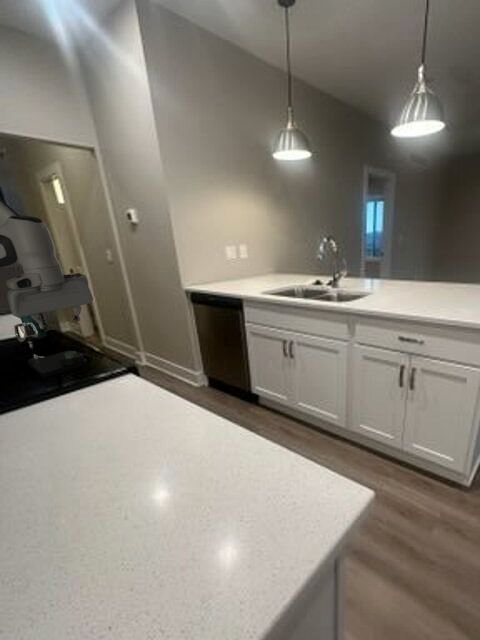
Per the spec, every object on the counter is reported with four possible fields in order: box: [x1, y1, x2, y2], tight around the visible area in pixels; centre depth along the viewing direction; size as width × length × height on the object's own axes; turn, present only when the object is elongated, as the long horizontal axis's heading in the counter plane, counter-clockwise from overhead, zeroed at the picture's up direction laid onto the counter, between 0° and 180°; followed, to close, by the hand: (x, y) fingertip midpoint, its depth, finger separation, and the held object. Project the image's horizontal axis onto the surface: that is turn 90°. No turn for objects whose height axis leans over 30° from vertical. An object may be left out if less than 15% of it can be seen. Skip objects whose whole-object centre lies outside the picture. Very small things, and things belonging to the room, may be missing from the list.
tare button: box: [64, 350, 78, 359], centre depth 106 cm, size 3×3×2 cm
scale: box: [27, 350, 89, 379], centre depth 108 cm, size 12×16×3 cm
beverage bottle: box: [19, 313, 48, 340], centre depth 130 cm, size 6×7×20 cm
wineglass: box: [13, 322, 45, 362], centre depth 112 cm, size 6×6×12 cm
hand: (61, 324), depth 102 cm, fingers open, 7 cm apart
